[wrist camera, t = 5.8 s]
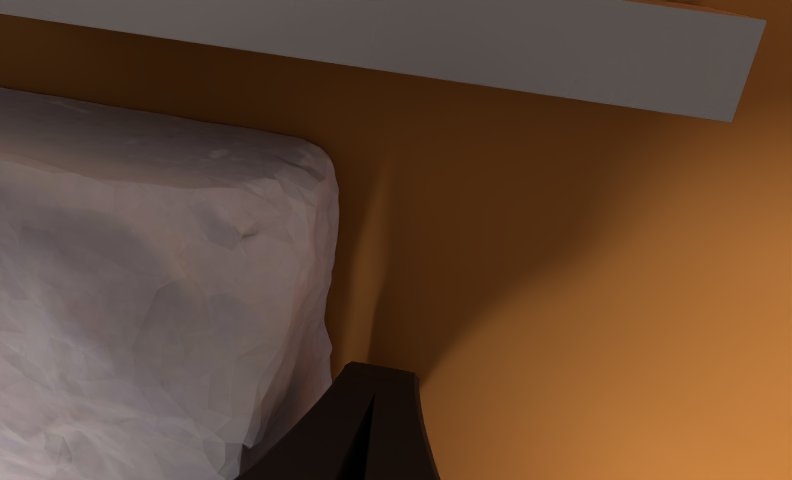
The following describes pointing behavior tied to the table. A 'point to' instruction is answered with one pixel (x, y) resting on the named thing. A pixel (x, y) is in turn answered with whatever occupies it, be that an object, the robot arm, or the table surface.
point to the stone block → (156, 291)
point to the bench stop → (472, 41)
